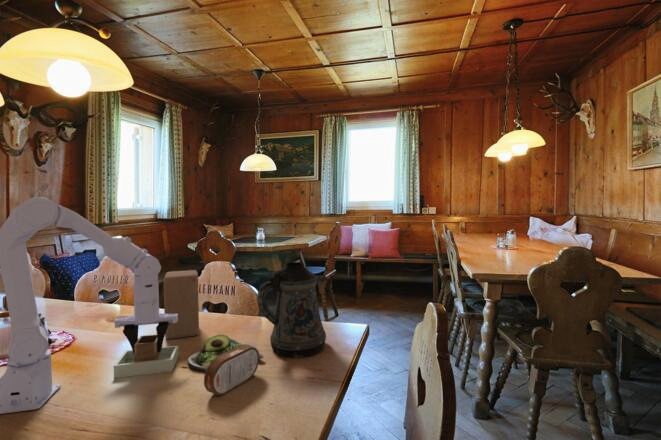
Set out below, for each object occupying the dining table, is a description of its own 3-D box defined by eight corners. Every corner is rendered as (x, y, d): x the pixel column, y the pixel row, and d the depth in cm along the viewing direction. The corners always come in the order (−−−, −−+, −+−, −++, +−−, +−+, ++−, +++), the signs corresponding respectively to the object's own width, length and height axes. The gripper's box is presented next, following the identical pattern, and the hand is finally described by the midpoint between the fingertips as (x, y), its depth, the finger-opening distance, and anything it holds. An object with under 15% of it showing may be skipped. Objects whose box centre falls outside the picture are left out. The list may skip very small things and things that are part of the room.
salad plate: (276, 351, 101) (276, 335, 101) (243, 381, 84) (243, 362, 84) (220, 343, 107) (220, 328, 107) (178, 369, 90) (177, 351, 90)
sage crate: (172, 371, 88) (172, 359, 88) (114, 377, 85) (113, 365, 85) (178, 355, 97) (178, 345, 97) (125, 361, 94) (125, 350, 93)
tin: (252, 371, 88) (251, 338, 88) (261, 374, 87) (261, 341, 86) (203, 399, 75) (202, 361, 75) (212, 403, 74) (212, 365, 73)
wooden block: (199, 336, 112) (197, 274, 111) (164, 340, 108) (163, 277, 107) (198, 326, 121) (197, 269, 120) (167, 330, 117) (165, 271, 116)
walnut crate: (156, 361, 89) (156, 342, 89) (134, 363, 87) (134, 344, 87) (160, 352, 95) (160, 334, 94) (140, 354, 93) (140, 335, 93)
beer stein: (336, 343, 105) (336, 262, 104) (296, 369, 89) (295, 272, 88) (294, 332, 114) (293, 257, 113) (250, 353, 98) (249, 266, 97)
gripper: (179, 294, 96) (180, 342, 96) (120, 298, 92) (122, 348, 93) (174, 301, 89) (175, 353, 90) (111, 305, 85) (112, 359, 86)
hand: (147, 351), depth 91 cm, fingers closed on walnut crate, 5 cm apart
